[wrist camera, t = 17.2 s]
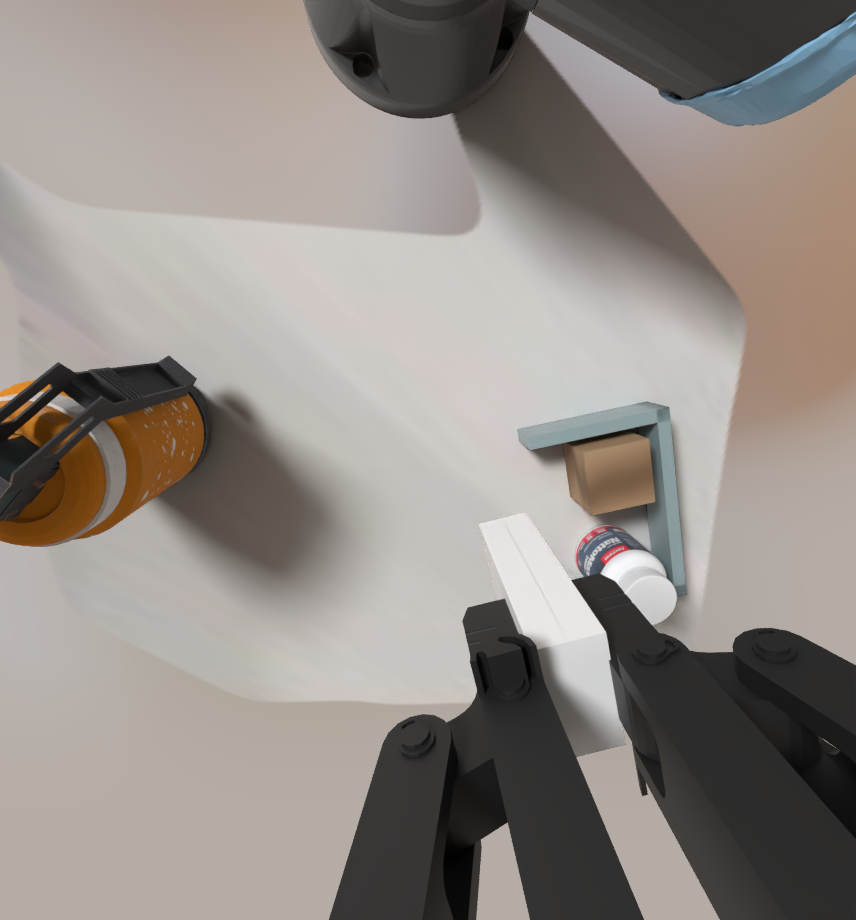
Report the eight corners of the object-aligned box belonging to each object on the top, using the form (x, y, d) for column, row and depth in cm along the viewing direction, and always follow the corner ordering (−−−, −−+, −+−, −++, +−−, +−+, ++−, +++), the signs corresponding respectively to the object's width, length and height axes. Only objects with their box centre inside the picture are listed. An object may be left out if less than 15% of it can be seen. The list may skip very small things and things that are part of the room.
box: (517, 429, 44) (528, 437, 40) (647, 401, 44) (669, 407, 41) (545, 603, 48) (558, 623, 44) (665, 576, 48) (686, 594, 44)
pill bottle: (597, 512, 46) (646, 552, 37) (643, 542, 47) (701, 589, 38) (561, 561, 47) (600, 611, 38) (606, 589, 48) (655, 646, 39)
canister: (69, 429, 41) (-215, 513, 22) (158, 319, 40) (-59, 305, 20) (167, 502, 43) (-15, 641, 23) (255, 401, 42) (140, 458, 22)
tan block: (562, 440, 44) (583, 452, 39) (620, 427, 44) (649, 438, 40) (570, 496, 46) (592, 515, 41) (626, 484, 46) (655, 501, 41)
